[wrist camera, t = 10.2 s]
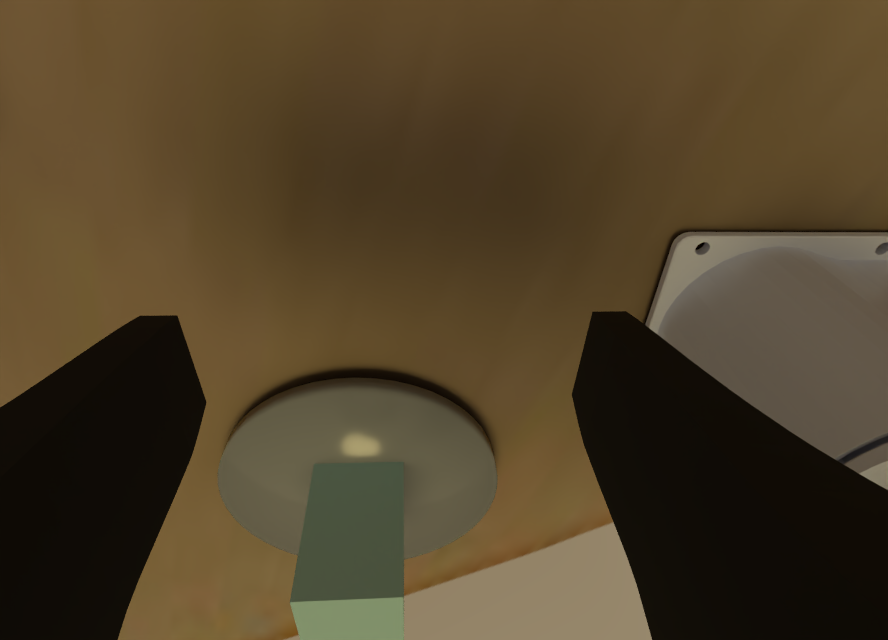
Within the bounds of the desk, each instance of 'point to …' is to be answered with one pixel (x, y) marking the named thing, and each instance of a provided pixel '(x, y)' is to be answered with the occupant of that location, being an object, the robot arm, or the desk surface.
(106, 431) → the robot arm
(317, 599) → the pale green block
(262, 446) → the slate plate
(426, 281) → the desk surface
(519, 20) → the desk surface
